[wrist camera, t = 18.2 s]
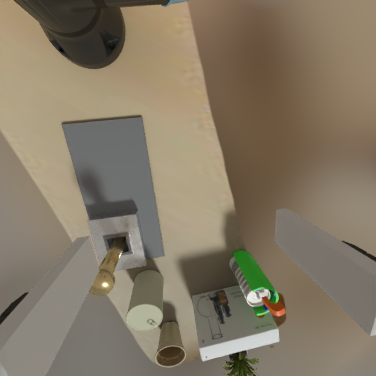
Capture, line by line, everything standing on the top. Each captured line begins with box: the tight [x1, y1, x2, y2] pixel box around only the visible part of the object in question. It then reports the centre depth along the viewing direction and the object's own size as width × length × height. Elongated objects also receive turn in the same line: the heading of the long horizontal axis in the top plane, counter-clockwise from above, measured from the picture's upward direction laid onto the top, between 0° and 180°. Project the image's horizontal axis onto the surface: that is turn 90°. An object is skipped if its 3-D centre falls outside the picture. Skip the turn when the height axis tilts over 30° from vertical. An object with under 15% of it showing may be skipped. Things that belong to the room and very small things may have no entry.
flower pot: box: [155, 321, 186, 367], centre depth 57 cm, size 9×9×9 cm
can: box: [126, 270, 164, 331], centre depth 49 cm, size 9×9×12 cm
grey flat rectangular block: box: [87, 210, 148, 271], centre depth 48 cm, size 16×12×3 cm
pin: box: [89, 236, 127, 295], centre depth 41 cm, size 5×5×16 cm
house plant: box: [223, 350, 258, 376], centre depth 58 cm, size 14×14×16 cm
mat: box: [62, 117, 164, 259], centre depth 46 cm, size 39×18×1 cm, turn 5°
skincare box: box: [192, 285, 279, 361], centre depth 52 cm, size 21×6×16 cm, turn 100°
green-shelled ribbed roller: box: [229, 251, 285, 316], centre depth 48 cm, size 9×8×18 cm
